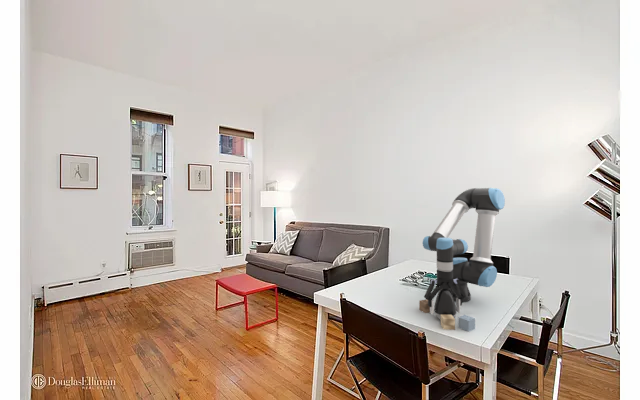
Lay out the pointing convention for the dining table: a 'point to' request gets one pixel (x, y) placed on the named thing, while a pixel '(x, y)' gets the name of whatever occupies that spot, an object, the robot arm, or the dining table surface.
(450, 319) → the maple cube
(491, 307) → the dining table surface
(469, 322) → the slate cube
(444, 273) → the robot arm
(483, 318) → the dining table surface
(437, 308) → the black rounded cone
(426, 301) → the walnut cube
